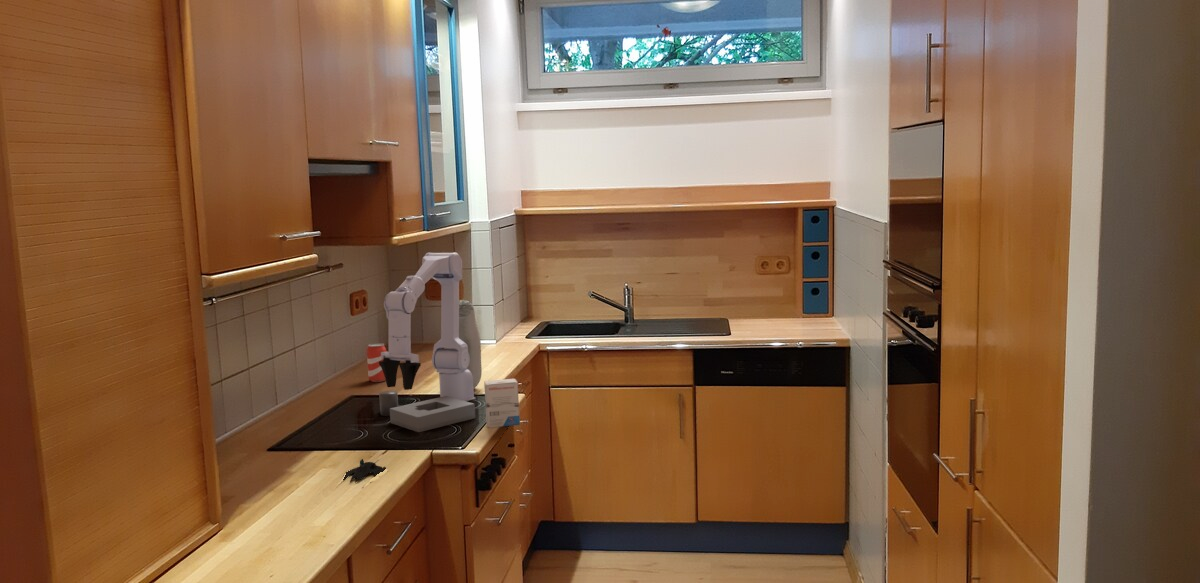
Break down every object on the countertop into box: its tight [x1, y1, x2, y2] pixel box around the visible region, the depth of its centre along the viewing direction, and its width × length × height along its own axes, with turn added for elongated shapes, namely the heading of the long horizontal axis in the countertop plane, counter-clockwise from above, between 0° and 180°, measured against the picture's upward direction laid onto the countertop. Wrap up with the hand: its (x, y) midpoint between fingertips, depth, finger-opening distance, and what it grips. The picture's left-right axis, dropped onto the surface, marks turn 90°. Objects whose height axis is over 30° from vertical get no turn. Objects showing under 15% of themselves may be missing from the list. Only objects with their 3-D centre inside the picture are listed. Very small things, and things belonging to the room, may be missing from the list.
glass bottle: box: [446, 299, 483, 389], centre depth 282 cm, size 10×10×28 cm
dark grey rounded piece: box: [378, 390, 399, 417], centre depth 258 cm, size 6×5×6 cm
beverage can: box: [366, 342, 387, 383], centre depth 300 cm, size 6×6×12 cm
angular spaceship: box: [343, 458, 387, 483], centre depth 204 cm, size 11×15×3 cm
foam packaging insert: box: [389, 396, 476, 433], centre depth 249 cm, size 18×14×4 cm
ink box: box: [483, 378, 521, 429], centre depth 242 cm, size 9×5×12 cm, turn 101°
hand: (399, 388), depth 242 cm, fingers open, 7 cm apart
